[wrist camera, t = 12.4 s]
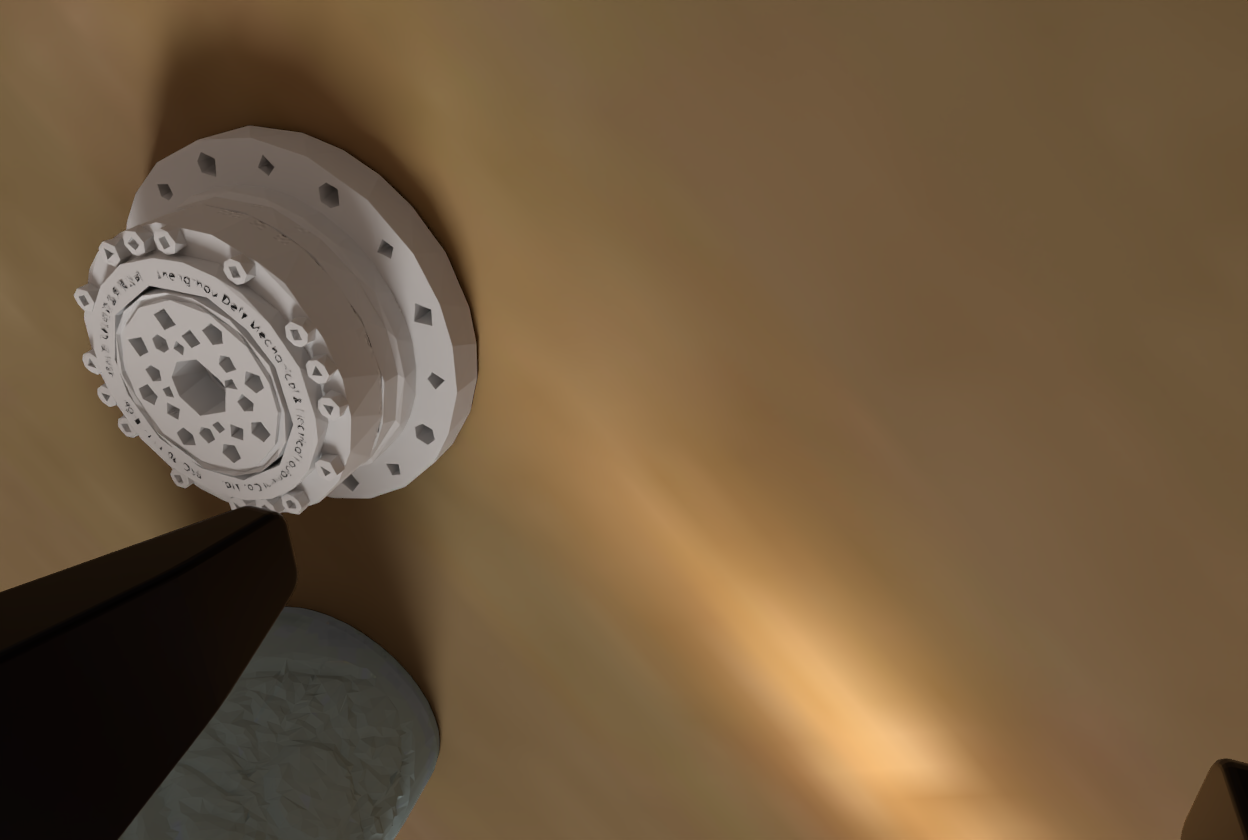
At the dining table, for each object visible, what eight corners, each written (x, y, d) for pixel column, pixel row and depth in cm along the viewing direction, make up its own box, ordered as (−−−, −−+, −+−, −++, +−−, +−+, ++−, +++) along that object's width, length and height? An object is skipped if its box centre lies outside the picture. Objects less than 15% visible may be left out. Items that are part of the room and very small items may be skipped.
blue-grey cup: (239, 741, 37) (-39, 1048, 28) (196, 545, 32) (-170, 842, 22) (466, 834, 35) (245, 1210, 25) (460, 637, 29) (175, 1021, 20)
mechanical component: (398, 81, 21) (104, 163, 25) (267, 126, 17) (-49, 213, 22) (533, 464, 25) (260, 479, 29) (449, 564, 21) (152, 564, 26)
